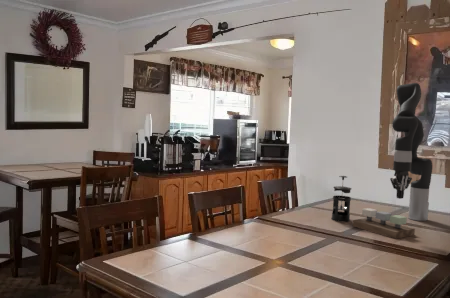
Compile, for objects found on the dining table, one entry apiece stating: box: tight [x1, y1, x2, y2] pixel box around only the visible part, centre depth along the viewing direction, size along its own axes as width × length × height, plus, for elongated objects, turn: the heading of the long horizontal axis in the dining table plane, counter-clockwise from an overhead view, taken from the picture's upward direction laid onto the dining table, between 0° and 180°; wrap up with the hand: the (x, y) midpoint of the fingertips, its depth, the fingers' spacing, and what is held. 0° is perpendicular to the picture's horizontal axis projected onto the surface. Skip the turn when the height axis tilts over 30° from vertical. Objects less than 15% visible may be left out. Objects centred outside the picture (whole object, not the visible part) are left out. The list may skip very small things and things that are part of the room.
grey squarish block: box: [375, 211, 393, 225], centre depth 200 cm, size 5×5×6 cm
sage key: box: [389, 214, 408, 229], centre depth 193 cm, size 5×5×6 cm
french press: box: [330, 175, 352, 223], centre depth 219 cm, size 12×9×23 cm
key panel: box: [352, 217, 416, 239], centre depth 200 cm, size 14×24×3 cm, turn 32°
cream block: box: [361, 207, 378, 221], centre depth 207 cm, size 5×5×6 cm
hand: (399, 198), depth 192 cm, fingers closed
